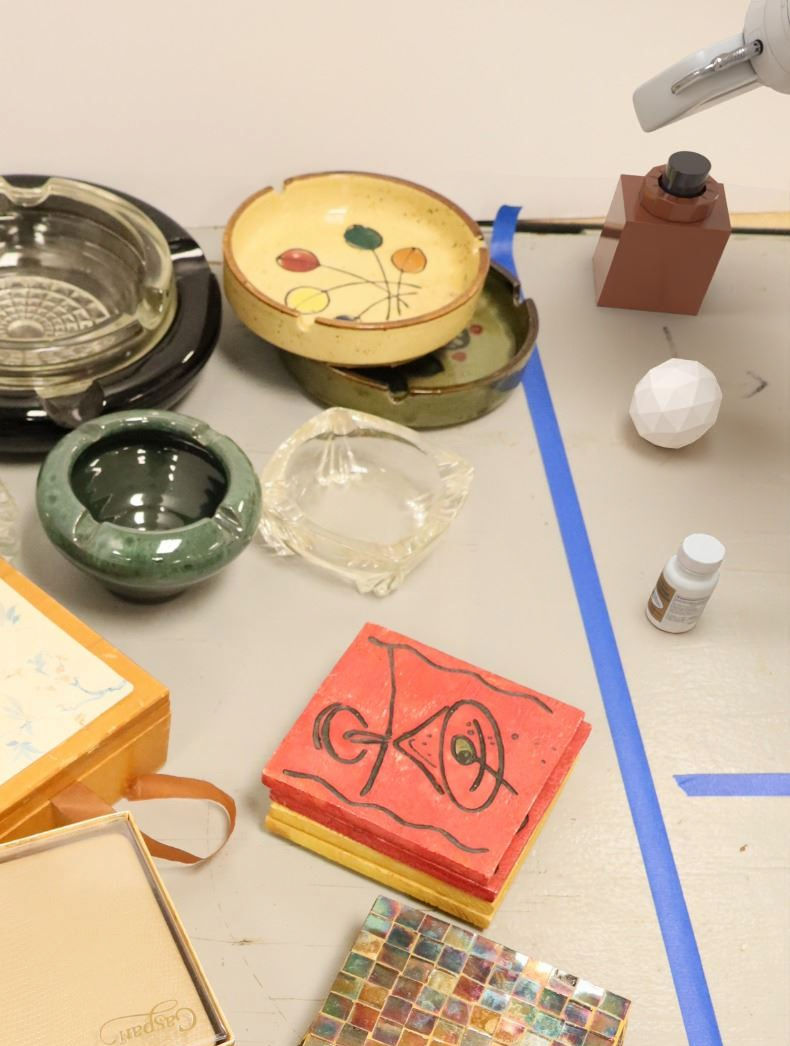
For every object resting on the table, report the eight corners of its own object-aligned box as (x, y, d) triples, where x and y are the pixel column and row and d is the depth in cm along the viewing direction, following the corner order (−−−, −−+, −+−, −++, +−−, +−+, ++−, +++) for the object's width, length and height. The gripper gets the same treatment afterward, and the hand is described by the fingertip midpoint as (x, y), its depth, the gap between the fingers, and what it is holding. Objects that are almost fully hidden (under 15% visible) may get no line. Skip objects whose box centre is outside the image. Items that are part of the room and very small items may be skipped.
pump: (699, 178, 138) (709, 152, 136) (703, 202, 136) (713, 176, 134) (657, 174, 138) (667, 148, 136) (661, 198, 136) (670, 172, 134)
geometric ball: (670, 455, 136) (748, 406, 131) (644, 473, 131) (725, 422, 125) (629, 386, 136) (706, 334, 130) (601, 401, 130) (680, 347, 125)
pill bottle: (643, 593, 123) (675, 525, 116) (695, 600, 122) (729, 532, 116) (645, 630, 120) (677, 563, 114) (698, 637, 120) (733, 570, 114)
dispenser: (689, 268, 148) (730, 165, 138) (696, 316, 143) (739, 213, 134) (592, 259, 148) (626, 155, 139) (596, 306, 144) (632, 203, 135)
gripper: (717, 108, 112) (604, 177, 125) (903, 30, 117) (776, 105, 130) (692, 26, 111) (580, 105, 124) (881, -49, 116) (755, 35, 129)
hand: (682, 104), depth 127 cm, fingers closed
